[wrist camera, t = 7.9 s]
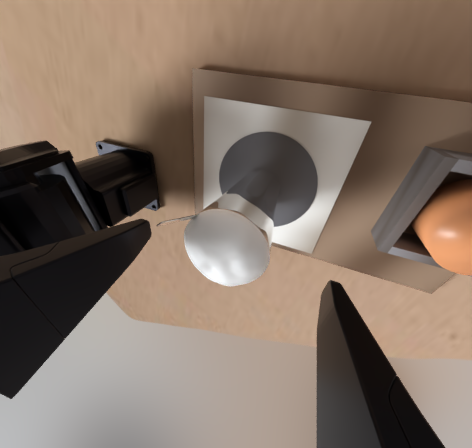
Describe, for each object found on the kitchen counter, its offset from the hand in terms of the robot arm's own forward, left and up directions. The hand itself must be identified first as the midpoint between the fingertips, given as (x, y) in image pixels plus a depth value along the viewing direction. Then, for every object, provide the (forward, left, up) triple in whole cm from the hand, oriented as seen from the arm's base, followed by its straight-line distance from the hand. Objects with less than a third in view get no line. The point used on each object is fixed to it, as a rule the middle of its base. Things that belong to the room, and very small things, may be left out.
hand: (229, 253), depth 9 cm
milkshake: (-1, 0, -9) cm, 9 cm away
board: (+4, 0, -10) cm, 11 cm away
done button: (+12, +1, -8) cm, 14 cm away
